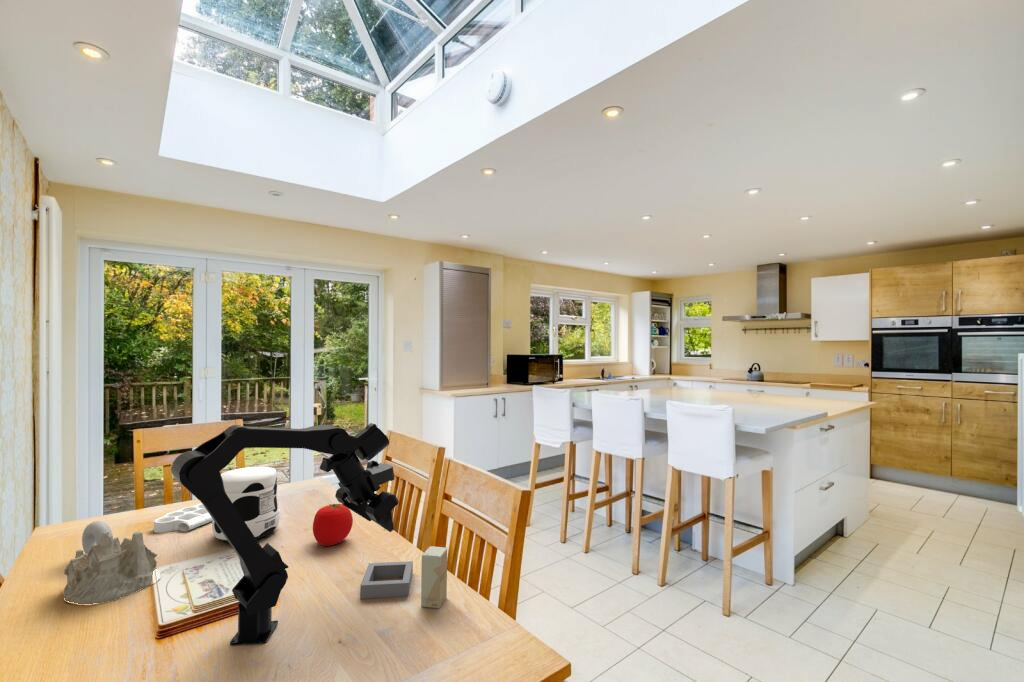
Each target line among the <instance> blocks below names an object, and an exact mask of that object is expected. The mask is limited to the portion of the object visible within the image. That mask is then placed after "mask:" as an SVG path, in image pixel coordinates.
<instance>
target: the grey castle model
mask: <svg viewBox="0 0 1024 682" xmlns="http://www.w3.org/2000/svg"><path fill="white" fill-rule="evenodd" d="M157 556H158V554H157V553H155V552H153V551H152V549H149V548H148V547H147V546H146V544H145V540H144V535H143V532H142V531H135V532H133V533H132V537H131V539H130V538H128V537H124V538H123V540H122V542H121V541H120V538H119V536H117V537H114V536H113V537H112V535H109V532H103V533H102V536H101V539H100V543H99V544H97V545H93V546H92V547H91V549H90V551H89V553H88V554H85V552H84V550H82V549H77V550H76V551H75V557H74V558H71V559H70V561H69V562H68V564H67V565H66V566H65V568H64V569H63V571H64V572H63V574H64V575H65V576H67V577H66V580H67V583H66V585H65V587H64V589H63V591H64V597H63V599H64V598H65V600H66V601H69V602H74V603H78V604H93V603H102V602H106V603H108V602H107V601H110V602H113V601H112V600H114V601H116V600H119V599H118V598H120V597H122V598H124V597H127V596H128V595H131V594H130V593H132V594H134V593H137V592H139V591H141V590H143V589H142V588H144V589H146V588H145V587H147V588H149V587H151V586H152V585H151V581H152V575H153V571H154V570H155V569H157V568H158V567H157V563H158V561H157V560H156V559H155V558H156V557H157ZM150 585H151V586H150ZM148 586H149V587H148ZM140 589H141V590H140ZM138 590H139V591H138ZM136 591H137V592H136ZM133 592H134V593H133ZM126 595H127V596H126ZM123 596H124V597H123ZM115 599H116V600H115ZM120 599H121V598H120ZM102 604H103V603H102Z"/></svg>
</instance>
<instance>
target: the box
mask: <svg viewBox="0 0 1024 682" xmlns="http://www.w3.org/2000/svg"><path fill="white" fill-rule="evenodd" d="M447 585H448V548H447V547H442V546H433V545H430V546H429V547H428V548H427V549H426V550H425V551H424V552H423V553H422V554H421V584H420V586H421V587H420V589H421V591H420V597H421V598H420V599H421V600H420V606H421V607H424V608H425V607H426V608H433V609H440V608H441V607H442V605H443V604H444V602H445V601H446V598H447V594H448V593H447V592H448V591H447V590H448V589H447V588H448V586H447Z"/></svg>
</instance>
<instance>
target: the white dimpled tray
mask: <svg viewBox="0 0 1024 682" xmlns="http://www.w3.org/2000/svg"><path fill="white" fill-rule="evenodd" d="M212 521H213V518H212V517H211V516H210V514H209V513H208V511H207V510H206V508H205V507H204V505H203V504H202V503H198V504H194V505H191V506H186V507H183V508H180V509H177V510H175V511H170V512H168V513H165V515H163V516H161V517H158V518H156V519H155V520H153V532H154V533H156V534H157V533H159V534H163V533H164V534H165V533H169V532H172V531H181V532H189V531H191V530H193V529H196V528H199V527H201V526H204V525H206V524H209V523H212Z"/></svg>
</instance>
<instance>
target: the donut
mask: <svg viewBox="0 0 1024 682" xmlns="http://www.w3.org/2000/svg"><path fill="white" fill-rule="evenodd" d="M103 532H109V535H112V537H113V538H114V536H113V532H112V529H111V528H110V526H109V525H108V524H107V523H106V522H105V521H102V520H94V521H92V522H90V523H89V524H87V525H86V526H85V528H84V530H83V532H82V534H81V535H82V536H81V545H82V549H83V553H84V554H88V553H89V551H90V549H91V547H92V546H93V545H97V544H99V543H100V539H101V536H102V533H103Z"/></svg>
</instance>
